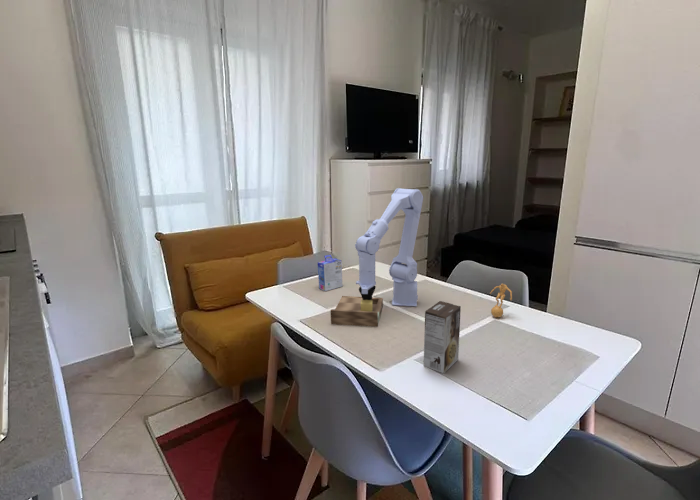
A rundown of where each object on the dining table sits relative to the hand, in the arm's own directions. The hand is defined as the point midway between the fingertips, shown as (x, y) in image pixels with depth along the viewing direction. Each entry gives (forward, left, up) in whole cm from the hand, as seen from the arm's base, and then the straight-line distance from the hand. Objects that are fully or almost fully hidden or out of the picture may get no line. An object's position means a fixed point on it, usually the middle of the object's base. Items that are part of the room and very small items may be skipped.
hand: (367, 306), depth 135 cm
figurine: (-46, -5, -4) cm, 46 cm away
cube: (0, +3, -1) cm, 4 cm away
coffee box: (-24, +30, -4) cm, 38 cm away
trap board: (+3, -1, -3) cm, 5 cm away
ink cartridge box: (+20, -28, -4) cm, 35 cm away
